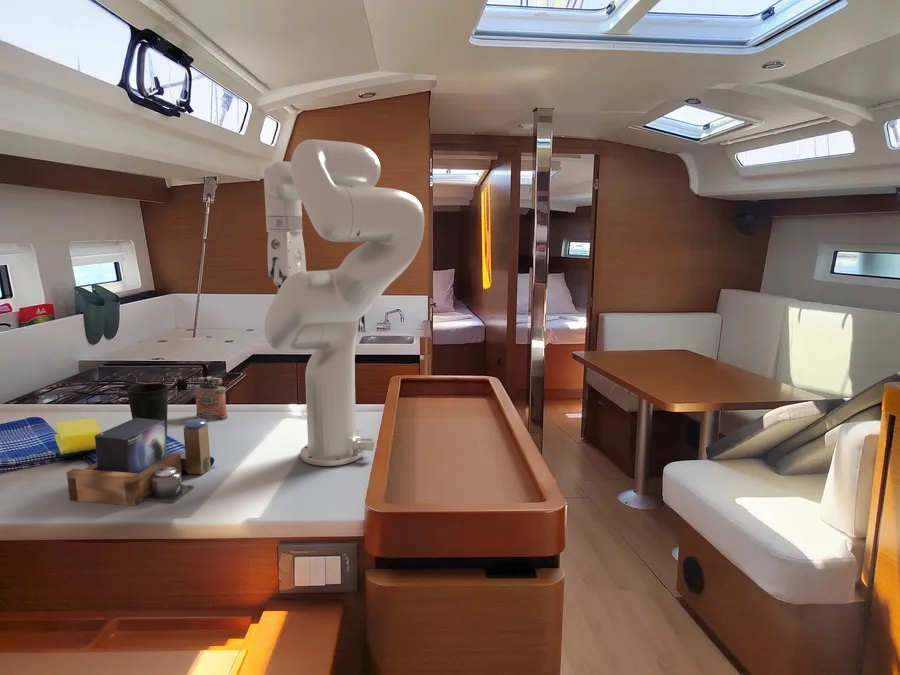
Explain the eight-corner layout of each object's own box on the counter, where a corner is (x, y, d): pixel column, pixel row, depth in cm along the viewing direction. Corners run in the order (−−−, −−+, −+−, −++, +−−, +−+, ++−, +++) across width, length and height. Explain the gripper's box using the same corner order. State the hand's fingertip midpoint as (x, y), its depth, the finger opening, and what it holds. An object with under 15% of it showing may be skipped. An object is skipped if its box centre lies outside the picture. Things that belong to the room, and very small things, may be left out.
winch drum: (193, 487, 105) (192, 465, 105) (172, 503, 99) (170, 479, 99) (162, 485, 106) (160, 462, 105) (140, 500, 100) (137, 476, 100)
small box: (131, 497, 102) (125, 438, 100) (97, 494, 103) (91, 435, 101) (170, 472, 112) (166, 418, 110) (139, 470, 113) (134, 416, 111)
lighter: (193, 418, 144) (190, 377, 142) (202, 413, 147) (199, 374, 145) (221, 421, 141) (218, 380, 140) (230, 417, 145) (228, 376, 143)
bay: (182, 474, 111) (180, 448, 110) (134, 505, 98) (132, 477, 97) (123, 469, 113) (121, 444, 112) (69, 500, 100) (66, 471, 99)
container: (213, 467, 113) (209, 419, 112) (202, 475, 110) (198, 425, 108) (144, 462, 116) (140, 415, 114) (131, 469, 112) (127, 420, 111)
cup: (142, 452, 122) (137, 394, 120) (125, 443, 126) (119, 388, 124) (179, 441, 128) (174, 387, 126) (160, 434, 132) (156, 381, 130)
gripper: (286, 225, 122) (289, 314, 125) (314, 225, 136) (317, 305, 140) (251, 225, 123) (256, 313, 126) (283, 225, 137) (286, 305, 141)
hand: (288, 309), depth 133 cm, fingers closed
